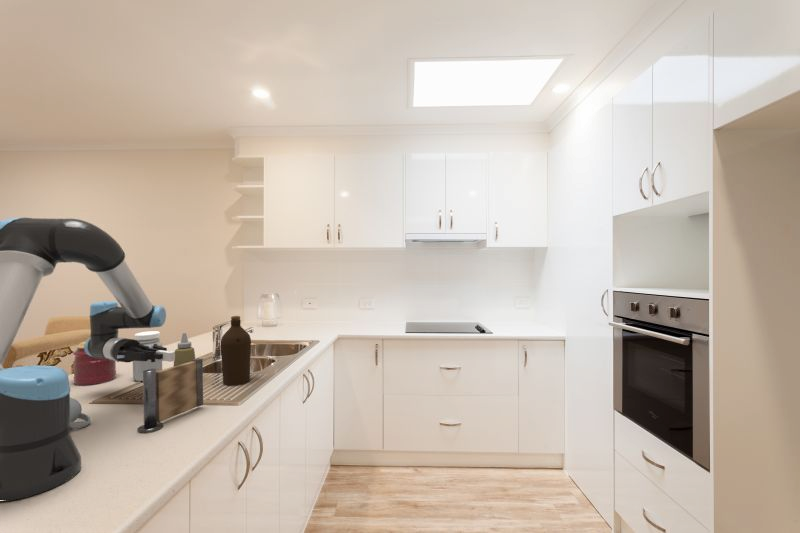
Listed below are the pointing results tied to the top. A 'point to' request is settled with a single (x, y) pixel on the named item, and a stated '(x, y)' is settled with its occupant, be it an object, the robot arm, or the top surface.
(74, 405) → the ceramic mug
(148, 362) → the jar
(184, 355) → the squeeze bottle
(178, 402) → the gate
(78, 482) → the top surface
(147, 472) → the top surface
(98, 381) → the canister
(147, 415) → the gate post
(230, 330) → the olive oil
